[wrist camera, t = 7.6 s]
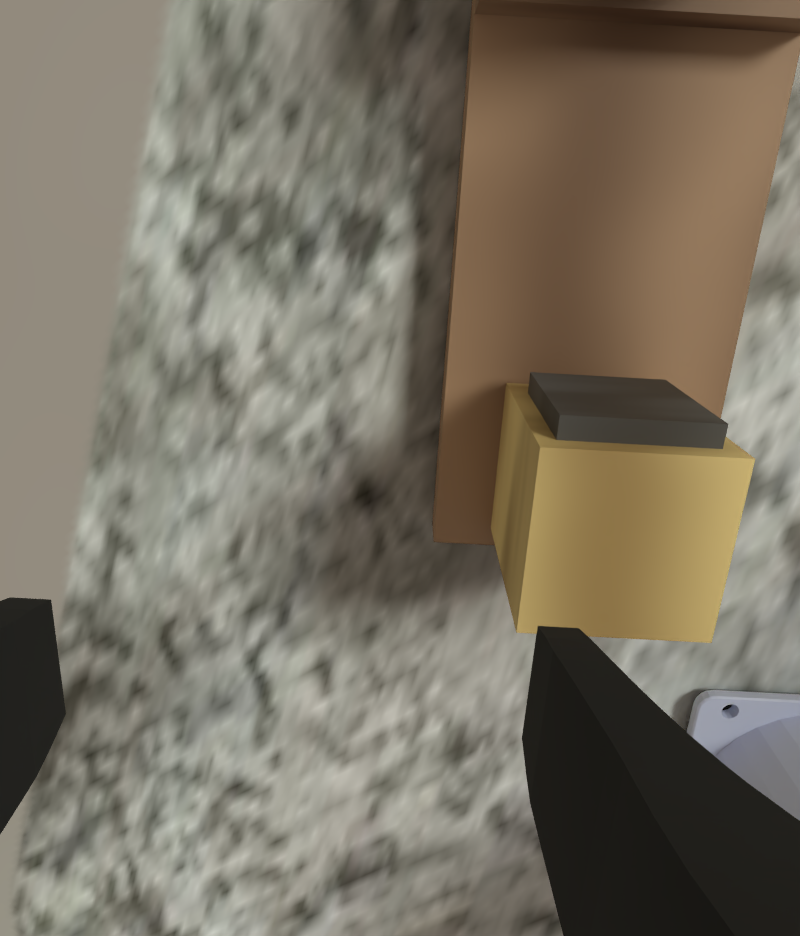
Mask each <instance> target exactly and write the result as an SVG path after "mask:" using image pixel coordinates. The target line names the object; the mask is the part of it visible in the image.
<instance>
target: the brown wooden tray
mask: <svg viewBox="0 0 800 936" xmlns="http://www.w3.org/2000/svg"><path fill="white" fill-rule="evenodd" d="M799 53H800V0H472V7H471V21H470V34H469V47H468V60H467V73H466V87H465V100H464V113H463V126H462V139H461V152H460V166H459V179H458V192H457V205H456V218H455V232H454V245H453V258H452V271H451V284H450V298H449V311H448V324H447V337H446V350H445V364H444V377H443V390H442V403H441V416H440V429H439V443H438V456H437V469H436V482H435V495H434V509H433V522H432V525H433V539H434V542H444V543H463V544H482V545H495V548H496V552H497V556H498V560H499V564H500V568H501V572H502V576H503V580H504V584H505V588H506V592H507V596H508V600H509V604H510V608H511V612H512V616H513V620H514V624H515V628H516V633H535V634H537V628H538V626H549V627H568V628H579V629H580V630H581V631H583V632H584V633H585V634H586V635H587V636H592V637H611V638H630V639H649V640H668V641H687V642H706V643H712V638H713V634H714V630H715V626H716V622H717V617H718V613H719V609H720V605H721V601H722V596H723V592H724V588H725V584H726V580H727V575H728V571H729V567H730V563H731V559H732V554H733V550H734V546H735V542H736V538H737V533H738V529H739V525H740V521H741V517H742V512H743V508H744V504H745V500H746V496H747V491H748V487H749V483H750V479H751V475H752V470H753V466H754V462H755V459H754V458H753V457H752V456H751V455H749V454H748V453H747V452H745V451H744V450H743V449H741V448H740V447H739V446H737V445H736V444H735V443H733V442H732V441H731V440H729V439H728V438H727V437H726V433H727V428H728V424H727V423H726V422H725V421H723V420H722V419H720V418H721V414H722V409H723V405H724V400H725V395H726V391H727V386H728V381H729V377H730V372H731V368H732V363H733V358H734V354H735V349H736V344H737V340H738V335H739V331H740V326H741V321H742V317H743V312H744V307H745V303H746V298H747V294H748V289H749V284H750V280H751V275H752V270H753V266H754V261H755V256H756V252H757V247H758V243H759V238H760V233H761V229H762V224H763V219H764V215H765V210H766V206H767V201H768V196H769V192H770V187H771V182H772V178H773V173H774V169H775V164H776V159H777V155H778V150H779V145H780V141H781V136H782V132H783V127H784V122H785V118H786V113H787V108H788V104H789V99H790V94H791V90H792V85H793V81H794V76H795V71H796V67H797V62H798V57H799Z"/></svg>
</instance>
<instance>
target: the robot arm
mask: <svg viewBox="0 0 800 936" xmlns="http://www.w3.org/2000/svg"><path fill="white" fill-rule="evenodd" d="M731 704H733V705H732V707H731V708H729V709H727V710H722V709H723V708H724V707H725V706H727V705H731ZM65 714H66V712H65V704H64V696H63V689H62V681H61V673H60V666H59V658H58V650H57V642H56V635H55V627H54V619H53V612H52V604H51V600H46V599H27V598H7V599H5V600H2V601H0V834H1V832H2V831H3V829H4V828H5V826H6V824H7V823H8V821H9V820H10V818H11V817H12V815H13V813H14V812H15V810H16V808H17V807H18V805H19V804H20V802H21V801H22V799H23V798H24V796H25V794H26V793H27V791H28V790H29V788H30V786H31V785H32V783H33V781H34V780H35V778H36V777H37V774H38V772H39V770H40V768H41V766H42V764H43V762H44V760H45V758H46V756H47V754H48V752H49V750H50V748H51V746H52V743H53V741H54V739H55V737H56V735H57V732H58V730H59V728H60V726H61V723H62V721H63V719H64V717H65ZM522 741H523V750H524V758H525V767H526V775H527V782H528V790H529V797H530V804H531V808H532V812H533V816H534V820H535V824H536V828H537V832H538V836H539V840H540V844H541V849H542V853H543V857H544V860H545V864H546V868H547V872H548V876H549V880H550V884H551V888H552V892H553V896H554V900H555V904H556V908H557V912H558V916H559V919H560V923H561V927H562V931H563V935H564V936H800V694H783V693H764V692H744V691H725V690H707V691H704V692H702V693H700V694H699V695H698V696H697V697H696V699H695V701H694V703H693V707H692V711H691V716H690V720H689V724H688V728H687V732H686V731H685V730H684V729H682V728H681V727H680V726H679V725H678V724H677V723H676V722H675V721H674V720H672V719H671V718H670V717H669V716H668V715H667V714H666V713H665V712H664V711H663V710H662V709H661V708H659V707H658V706H657V705H656V704H655V703H654V702H653V701H652V700H651V699H650V698H649V697H648V696H647V695H646V694H645V693H644V692H643V691H642V690H641V689H640V688H639V687H638V686H637V685H636V684H635V683H634V682H633V681H632V680H630V679H629V678H628V676H627V675H626V674H625V673H624V672H623V671H622V670H621V669H620V668H619V667H618V666H617V665H616V664H615V663H614V662H613V661H612V660H611V659H610V658H609V657H608V656H607V655H606V654H605V653H604V652H603V651H602V650H601V649H600V648H599V647H598V646H597V645H596V644H595V643H594V642H593V641H592V640H591V639H590V638H589V637H588V636H587V635H586V634H585V633H584V632H583V631H581V630H580V629H579V628H568V627H549V626H538V628H537V635H536V642H535V649H534V656H533V663H532V671H531V678H530V685H529V692H528V699H527V706H526V713H525V720H524V728H523V735H522Z"/></svg>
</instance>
